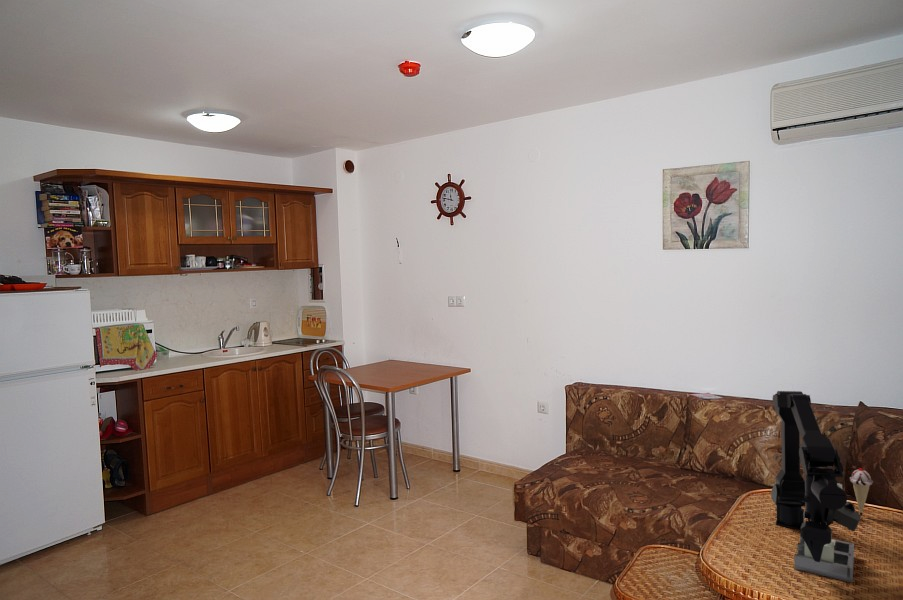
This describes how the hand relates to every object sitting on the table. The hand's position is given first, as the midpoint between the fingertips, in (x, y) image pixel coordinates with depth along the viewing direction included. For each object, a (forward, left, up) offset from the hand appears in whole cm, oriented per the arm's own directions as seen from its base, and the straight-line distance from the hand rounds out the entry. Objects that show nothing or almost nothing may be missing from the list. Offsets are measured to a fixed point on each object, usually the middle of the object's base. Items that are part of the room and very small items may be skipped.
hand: (818, 553), depth 145 cm
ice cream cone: (+8, +39, -4) cm, 40 cm away
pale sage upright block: (0, 0, -3) cm, 3 cm away
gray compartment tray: (+1, +4, -4) cm, 6 cm away
